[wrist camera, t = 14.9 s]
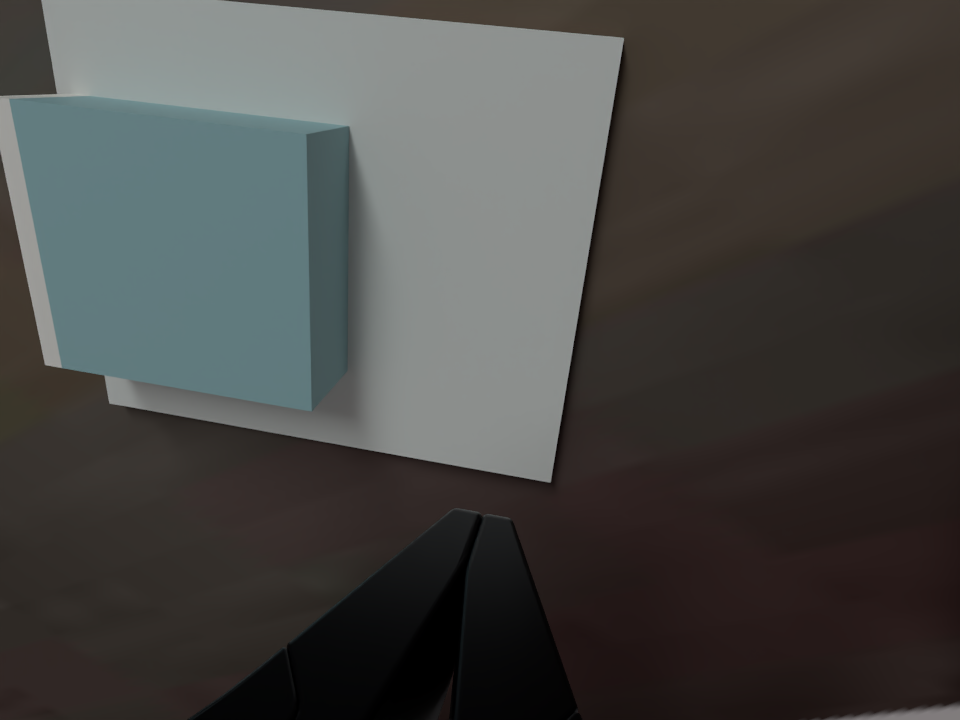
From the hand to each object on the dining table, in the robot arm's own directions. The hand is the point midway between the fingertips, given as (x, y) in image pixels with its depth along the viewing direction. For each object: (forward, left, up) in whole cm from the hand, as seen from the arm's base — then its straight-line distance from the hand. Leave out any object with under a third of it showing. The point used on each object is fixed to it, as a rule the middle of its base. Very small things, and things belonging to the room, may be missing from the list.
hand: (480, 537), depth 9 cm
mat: (+7, 0, -12) cm, 15 cm away
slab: (+6, 0, -10) cm, 12 cm away
